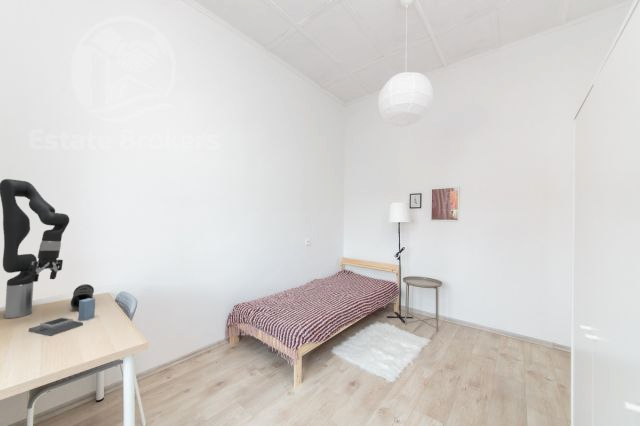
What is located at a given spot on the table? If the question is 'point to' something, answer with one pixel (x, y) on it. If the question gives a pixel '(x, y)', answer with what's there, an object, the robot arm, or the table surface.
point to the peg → (86, 309)
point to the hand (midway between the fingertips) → (43, 280)
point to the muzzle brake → (81, 294)
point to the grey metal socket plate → (55, 326)
